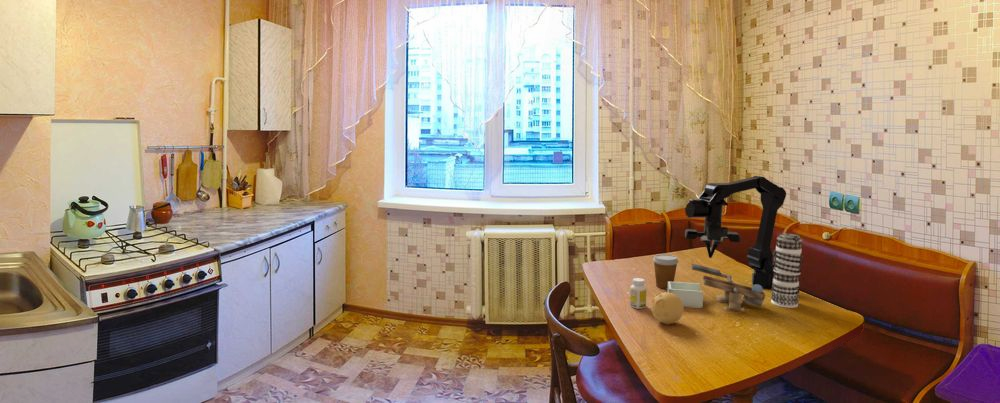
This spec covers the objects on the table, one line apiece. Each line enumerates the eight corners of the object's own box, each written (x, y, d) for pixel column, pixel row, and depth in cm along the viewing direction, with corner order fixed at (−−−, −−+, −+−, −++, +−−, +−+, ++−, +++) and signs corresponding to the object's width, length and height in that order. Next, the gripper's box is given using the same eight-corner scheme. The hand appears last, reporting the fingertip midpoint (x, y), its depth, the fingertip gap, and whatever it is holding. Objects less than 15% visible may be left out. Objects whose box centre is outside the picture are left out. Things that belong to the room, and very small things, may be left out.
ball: (758, 294, 175) (763, 285, 174) (760, 297, 171) (765, 289, 170) (748, 289, 175) (753, 281, 174) (750, 292, 172) (755, 284, 171)
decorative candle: (764, 299, 182) (768, 232, 178) (788, 298, 183) (793, 231, 179) (780, 308, 173) (785, 238, 169) (805, 307, 174) (811, 237, 170)
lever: (751, 291, 187) (755, 279, 186) (763, 309, 169) (767, 296, 168) (688, 275, 192) (692, 263, 191) (693, 291, 174) (697, 278, 173)
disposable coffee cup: (678, 291, 192) (680, 260, 191) (653, 289, 194) (654, 259, 192) (675, 283, 202) (676, 254, 200) (650, 282, 203) (651, 253, 202)
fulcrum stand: (740, 298, 183) (741, 283, 182) (747, 311, 170) (748, 294, 169) (716, 297, 185) (717, 281, 184) (722, 309, 172) (723, 293, 172)
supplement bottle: (646, 304, 178) (647, 278, 177) (645, 309, 173) (646, 282, 172) (630, 303, 180) (631, 276, 179) (629, 308, 175) (630, 281, 174)
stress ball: (683, 323, 163) (666, 297, 169) (694, 309, 156) (676, 282, 162) (657, 332, 161) (641, 306, 166) (667, 318, 153) (650, 291, 159)
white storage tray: (699, 299, 183) (700, 283, 182) (702, 308, 174) (703, 291, 173) (667, 296, 186) (667, 281, 185) (668, 305, 177) (669, 289, 176)
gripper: (688, 219, 182) (685, 260, 184) (744, 222, 177) (740, 265, 179) (686, 214, 193) (683, 253, 195) (739, 217, 188) (735, 257, 190)
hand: (710, 257), depth 190 cm, fingers closed
